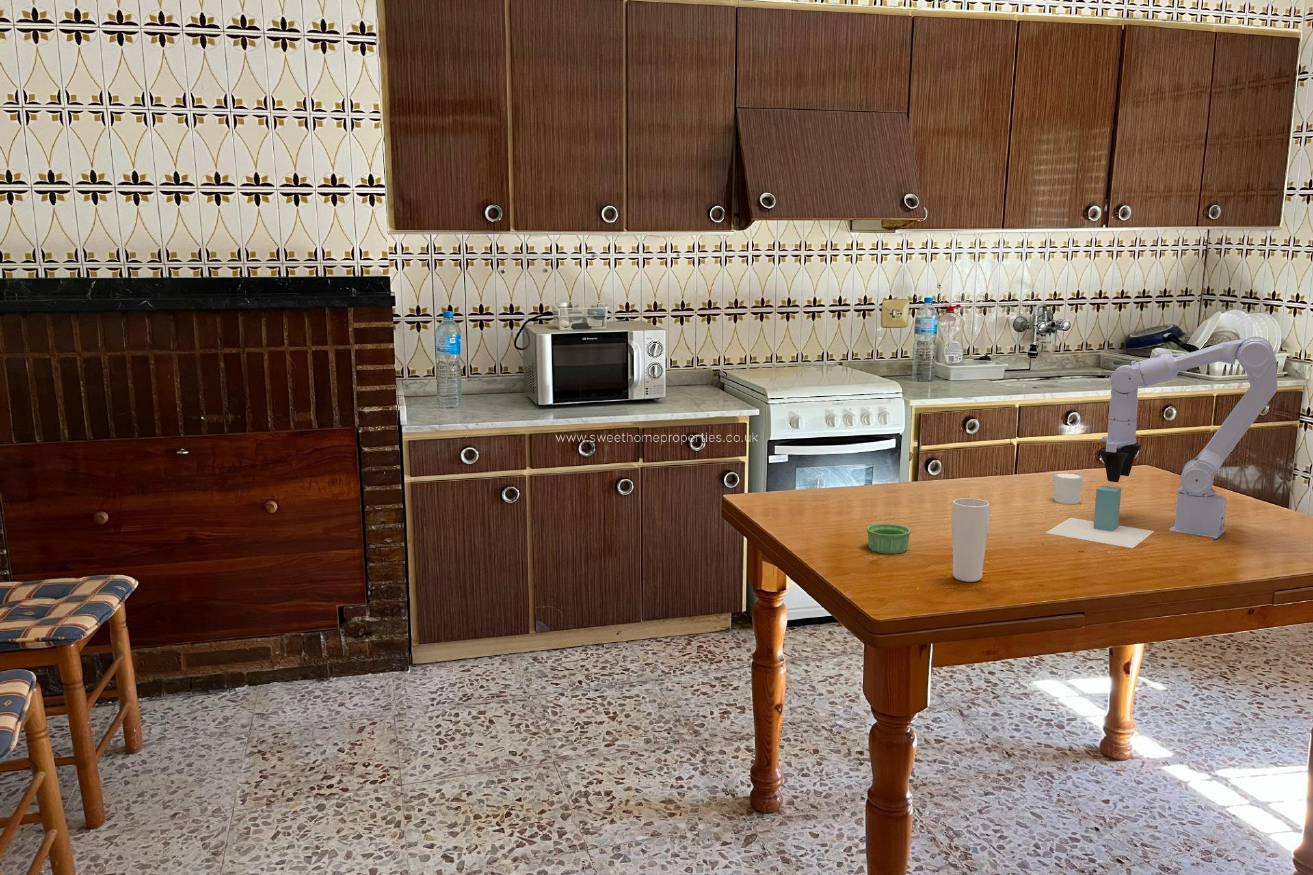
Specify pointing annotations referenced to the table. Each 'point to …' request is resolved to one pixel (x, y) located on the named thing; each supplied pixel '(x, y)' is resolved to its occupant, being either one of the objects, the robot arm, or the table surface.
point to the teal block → (1107, 508)
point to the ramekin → (888, 538)
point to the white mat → (1100, 533)
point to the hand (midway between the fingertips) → (1118, 478)
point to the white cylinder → (1067, 488)
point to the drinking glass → (969, 537)
